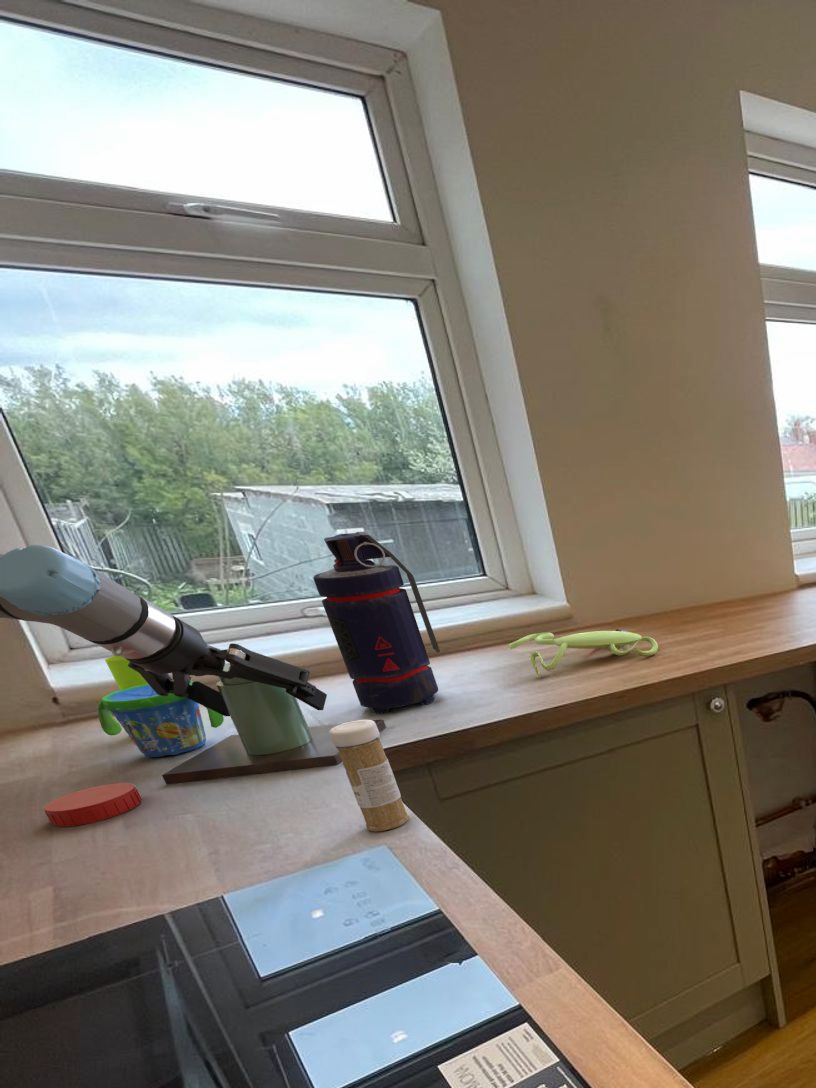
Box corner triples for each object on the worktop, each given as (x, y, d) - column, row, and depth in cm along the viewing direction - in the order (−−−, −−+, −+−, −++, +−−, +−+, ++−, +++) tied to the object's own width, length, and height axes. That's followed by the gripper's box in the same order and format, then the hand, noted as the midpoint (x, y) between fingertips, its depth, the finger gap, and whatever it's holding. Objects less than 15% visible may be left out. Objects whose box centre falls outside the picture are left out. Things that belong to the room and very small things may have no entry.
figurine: (513, 660, 171) (505, 634, 169) (645, 637, 184) (640, 613, 182) (520, 681, 157) (511, 653, 155) (663, 655, 170) (657, 629, 168)
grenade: (366, 719, 140) (300, 542, 128) (359, 703, 148) (296, 536, 136) (458, 699, 148) (404, 531, 136) (446, 685, 156) (395, 526, 144)
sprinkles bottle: (364, 824, 102) (325, 725, 97) (407, 812, 105) (371, 715, 100) (370, 836, 99) (330, 735, 94) (414, 823, 102) (377, 724, 97)
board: (165, 784, 117) (161, 774, 116) (234, 743, 131) (231, 735, 131) (337, 764, 121) (334, 755, 121) (386, 727, 136) (383, 718, 135)
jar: (234, 758, 121) (196, 675, 116) (265, 738, 128) (231, 660, 123) (295, 751, 123) (260, 669, 118) (322, 732, 130) (291, 654, 125)
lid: (106, 823, 106) (98, 807, 105) (32, 830, 105) (23, 814, 104) (158, 794, 114) (151, 779, 113) (90, 801, 113) (82, 786, 112)
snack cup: (253, 734, 135) (227, 676, 131) (198, 760, 125) (169, 698, 121) (157, 740, 134) (129, 681, 130) (95, 766, 125) (62, 704, 121)
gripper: (35, 667, 104) (184, 733, 123) (241, 655, 105) (355, 721, 125) (55, 617, 106) (197, 688, 126) (255, 606, 108) (365, 678, 128)
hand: (276, 705), depth 126 cm, fingers open, 13 cm apart
